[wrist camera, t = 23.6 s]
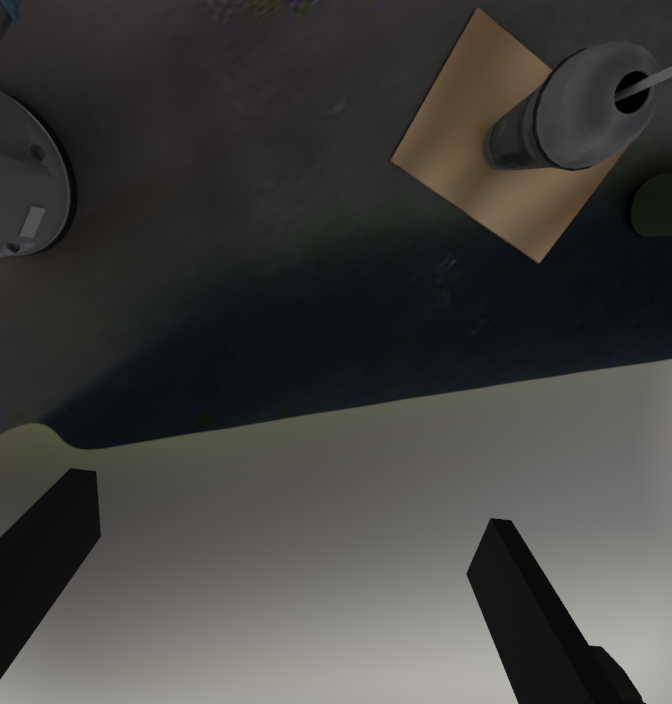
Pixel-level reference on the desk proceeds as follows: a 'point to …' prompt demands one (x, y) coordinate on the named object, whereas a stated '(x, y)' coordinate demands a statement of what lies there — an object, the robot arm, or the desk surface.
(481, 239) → the desk surface
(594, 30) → the desk surface
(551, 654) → the robot arm
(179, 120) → the desk surface
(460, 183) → the cork mat
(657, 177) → the character mug
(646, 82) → the beverage cup
